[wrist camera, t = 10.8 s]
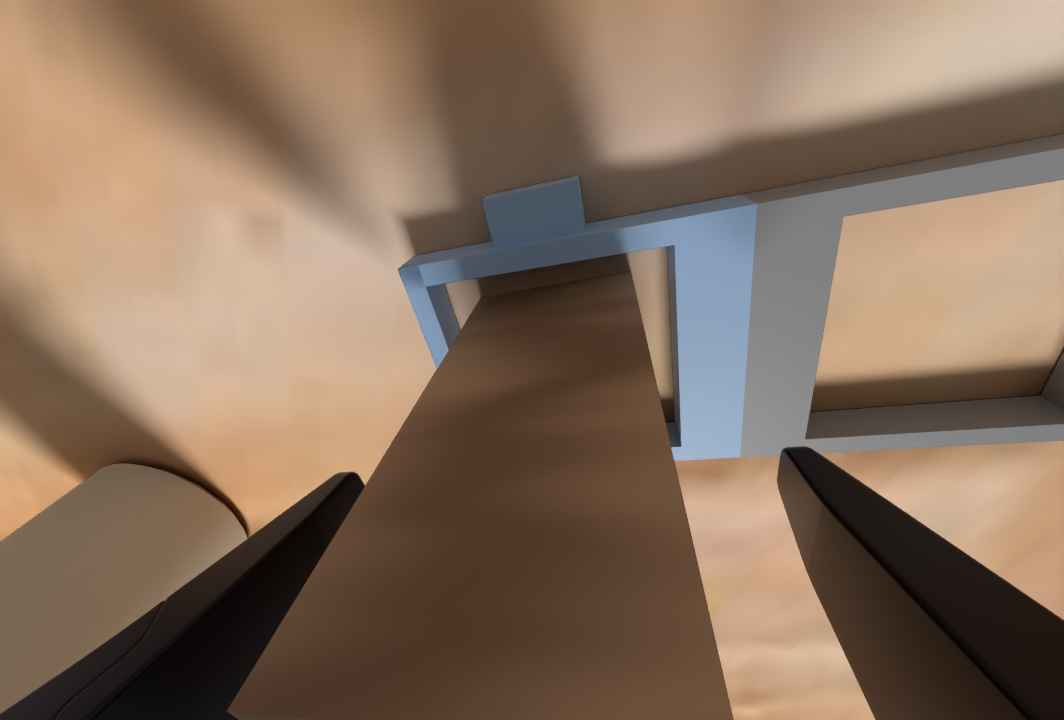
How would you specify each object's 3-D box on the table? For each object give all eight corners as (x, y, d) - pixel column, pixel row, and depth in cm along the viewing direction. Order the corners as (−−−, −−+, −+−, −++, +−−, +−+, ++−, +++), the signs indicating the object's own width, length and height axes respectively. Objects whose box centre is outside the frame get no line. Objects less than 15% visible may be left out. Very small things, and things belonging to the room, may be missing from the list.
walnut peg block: (631, 271, 11) (743, 762, 3) (645, 398, 13) (731, 887, 5) (481, 297, 12) (225, 712, 4) (517, 411, 14) (407, 833, 6)
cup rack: (1275, 24, 7) (1387, 10, 6) (1039, 440, 12) (1080, 470, 11) (399, 214, 11) (380, 224, 10) (492, 469, 16) (485, 493, 15)
